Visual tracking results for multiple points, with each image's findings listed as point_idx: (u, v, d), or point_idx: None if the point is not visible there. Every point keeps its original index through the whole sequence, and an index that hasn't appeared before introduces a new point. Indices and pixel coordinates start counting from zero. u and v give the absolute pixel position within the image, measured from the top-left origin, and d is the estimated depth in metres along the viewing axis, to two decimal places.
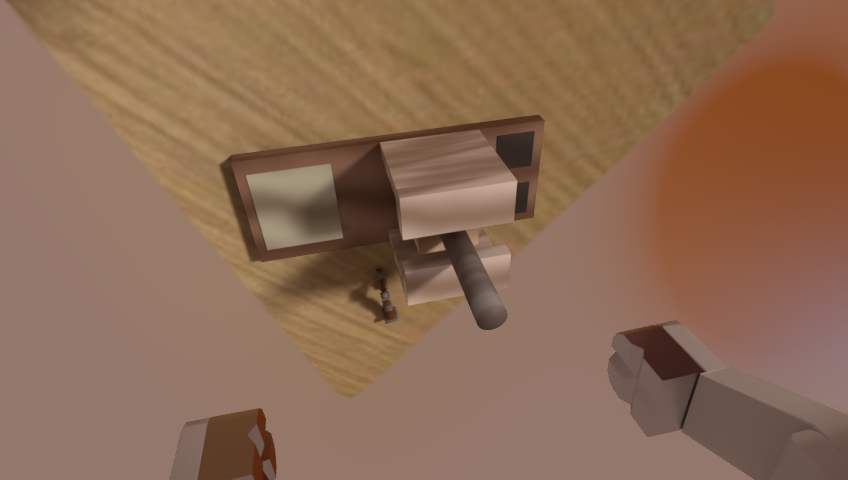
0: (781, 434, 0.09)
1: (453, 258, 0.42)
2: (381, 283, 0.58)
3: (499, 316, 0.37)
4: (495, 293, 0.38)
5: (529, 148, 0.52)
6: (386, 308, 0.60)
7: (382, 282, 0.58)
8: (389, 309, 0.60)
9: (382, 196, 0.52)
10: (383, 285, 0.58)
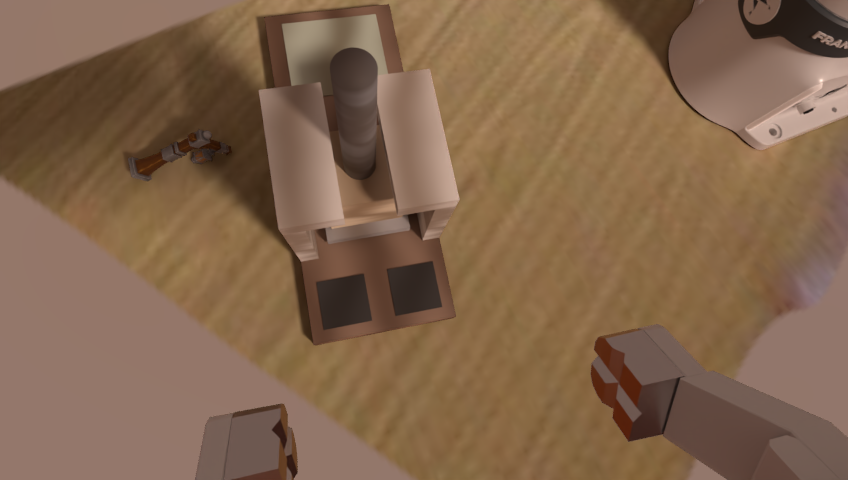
0: (760, 439, 0.09)
1: None
2: (215, 143, 0.43)
3: (357, 77, 0.25)
4: (374, 96, 0.27)
5: (419, 307, 0.42)
6: (170, 147, 0.42)
7: (216, 144, 0.43)
8: (165, 154, 0.42)
9: None
10: (213, 144, 0.43)
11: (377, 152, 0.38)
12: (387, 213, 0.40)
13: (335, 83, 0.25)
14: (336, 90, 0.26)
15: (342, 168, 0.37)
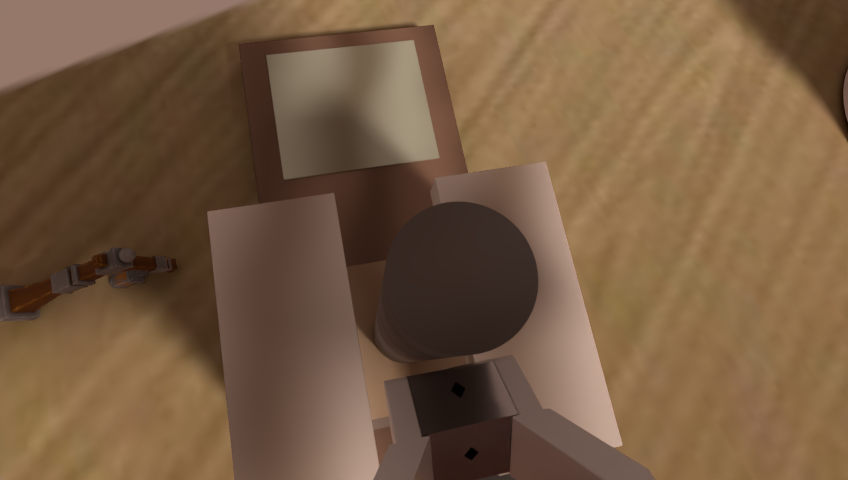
0: None
1: None
2: (147, 260, 0.25)
3: (477, 308, 0.08)
4: None
5: None
6: (65, 273, 0.24)
7: (149, 263, 0.25)
8: (56, 284, 0.24)
9: (375, 247, 0.28)
10: (142, 263, 0.25)
11: None
12: None
13: (403, 327, 0.08)
14: (400, 331, 0.08)
15: (371, 340, 0.20)
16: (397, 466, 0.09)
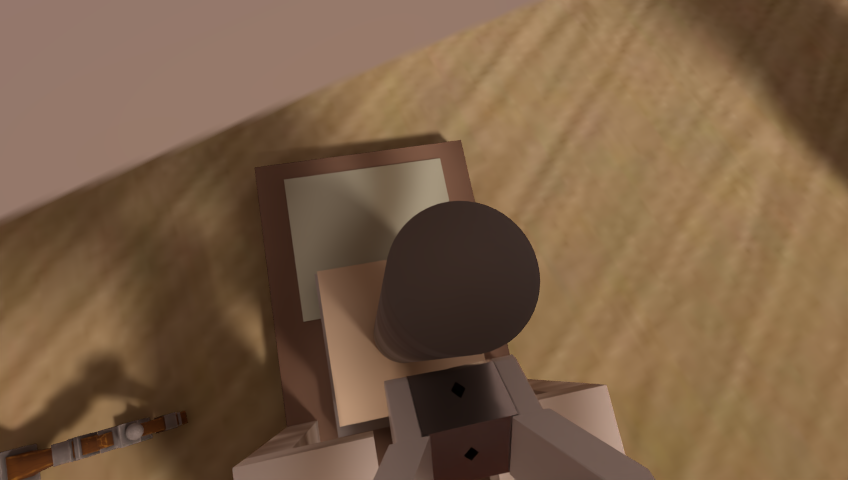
0: None
1: None
2: (155, 423, 0.24)
3: (479, 308, 0.07)
4: None
5: None
6: (67, 446, 0.22)
7: (157, 426, 0.24)
8: (58, 456, 0.23)
9: None
10: (150, 429, 0.23)
11: None
12: None
13: (403, 327, 0.07)
14: (401, 331, 0.08)
15: (371, 340, 0.20)
16: (397, 466, 0.09)
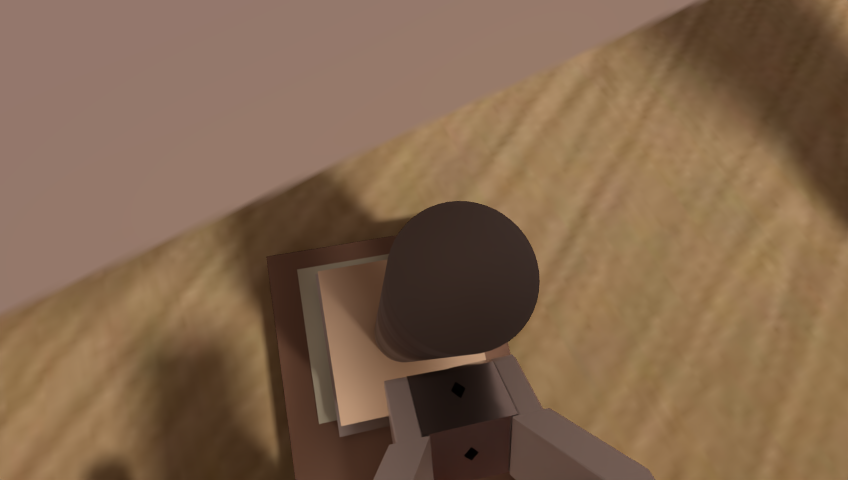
0: None
1: None
2: None
3: (479, 308, 0.08)
4: None
5: None
6: None
7: None
8: None
9: None
10: None
11: None
12: None
13: (404, 327, 0.08)
14: (401, 331, 0.08)
15: (372, 339, 0.20)
16: (397, 466, 0.09)
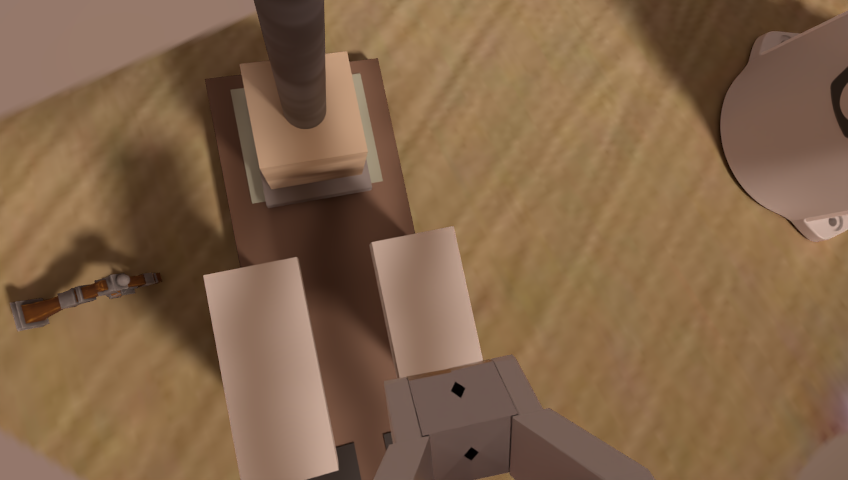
0: None
1: None
2: (137, 279, 0.31)
3: None
4: (319, 10, 0.17)
5: None
6: (71, 293, 0.30)
7: (139, 280, 0.31)
8: (64, 301, 0.30)
9: (331, 258, 0.34)
10: (134, 282, 0.31)
11: (328, 91, 0.28)
12: (343, 171, 0.32)
13: None
14: None
15: (281, 113, 0.28)
16: (397, 466, 0.09)
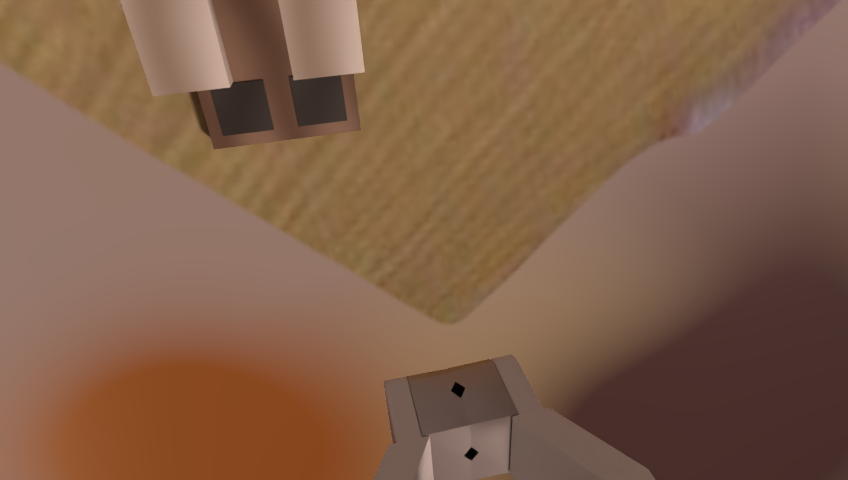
0: None
1: None
2: None
3: None
4: None
5: (323, 119, 0.41)
6: None
7: None
8: None
9: None
10: None
11: None
12: None
13: None
14: None
15: None
16: (397, 466, 0.09)
